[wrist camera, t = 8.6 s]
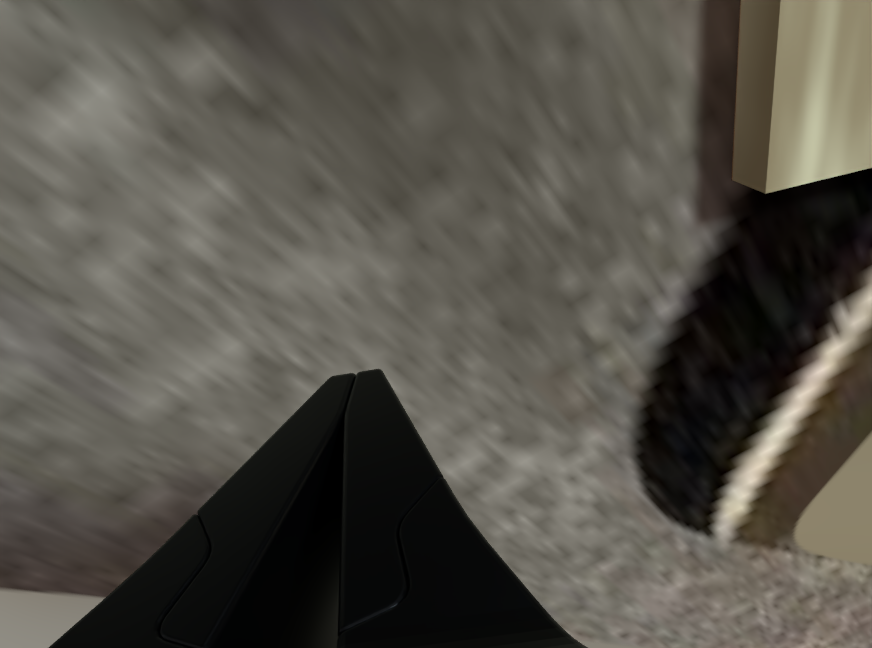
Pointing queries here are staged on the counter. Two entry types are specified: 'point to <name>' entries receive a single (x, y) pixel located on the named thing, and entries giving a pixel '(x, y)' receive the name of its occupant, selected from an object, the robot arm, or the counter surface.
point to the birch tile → (802, 92)
